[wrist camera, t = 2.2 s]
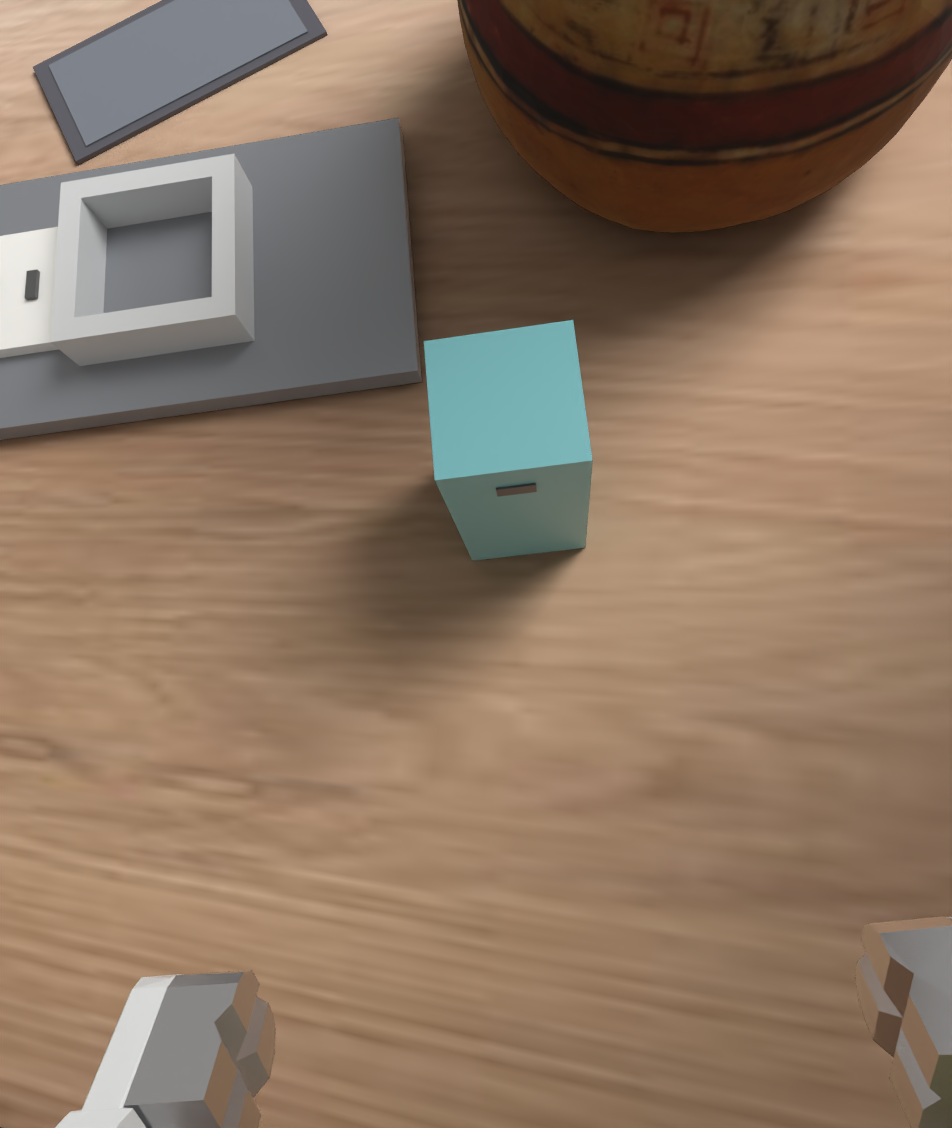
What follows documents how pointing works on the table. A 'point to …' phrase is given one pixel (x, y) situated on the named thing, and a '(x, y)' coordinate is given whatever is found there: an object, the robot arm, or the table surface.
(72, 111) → the phone
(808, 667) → the table surface
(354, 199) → the grey socket base board
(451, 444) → the teal box with slot
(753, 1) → the ceramic pitcher
